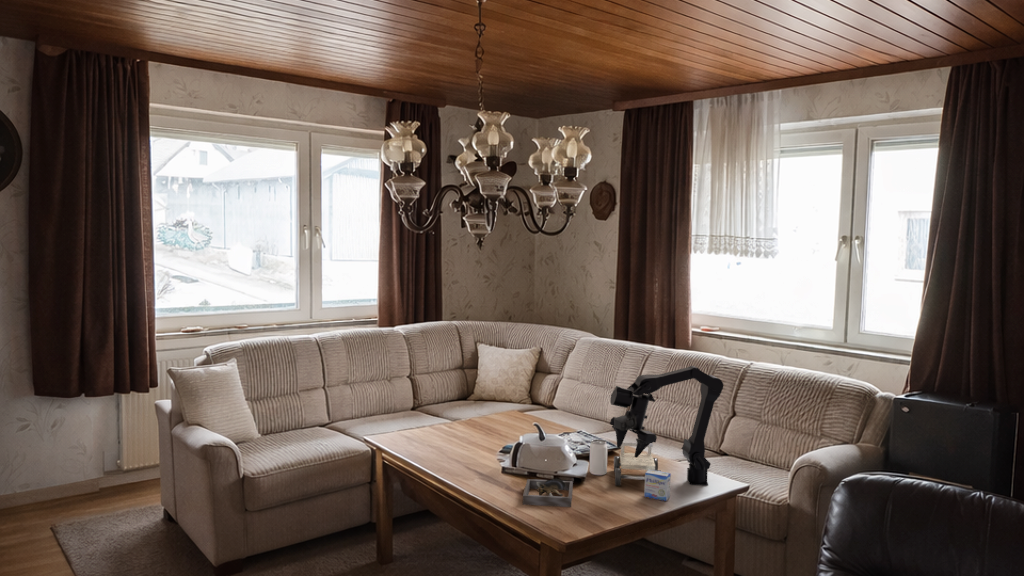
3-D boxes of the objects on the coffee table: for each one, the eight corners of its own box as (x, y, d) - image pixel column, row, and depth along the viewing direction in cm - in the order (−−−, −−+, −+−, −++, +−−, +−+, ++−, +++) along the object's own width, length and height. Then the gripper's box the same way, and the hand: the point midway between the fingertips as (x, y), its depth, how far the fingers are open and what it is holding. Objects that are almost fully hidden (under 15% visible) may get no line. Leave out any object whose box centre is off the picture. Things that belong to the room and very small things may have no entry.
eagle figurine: (545, 500, 238) (569, 491, 241) (537, 479, 240) (561, 471, 244) (539, 505, 244) (562, 496, 247) (531, 485, 247) (554, 477, 250)
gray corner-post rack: (656, 471, 271) (657, 440, 270) (661, 490, 251) (662, 457, 250) (613, 469, 273) (614, 439, 272) (615, 487, 253) (616, 455, 252)
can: (607, 471, 270) (608, 440, 270) (605, 476, 264) (606, 444, 263) (591, 469, 272) (591, 438, 271) (588, 474, 266) (588, 443, 265)
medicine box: (643, 497, 244) (644, 472, 243) (647, 493, 248) (648, 468, 247) (666, 501, 240) (667, 476, 240) (670, 497, 244) (670, 472, 244)
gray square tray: (572, 489, 250) (572, 481, 250) (571, 507, 235) (571, 498, 234) (527, 487, 252) (527, 479, 252) (522, 504, 236) (522, 495, 236)
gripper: (604, 400, 257) (593, 442, 258) (640, 417, 242) (628, 461, 242) (626, 403, 263) (615, 443, 264) (662, 419, 248) (651, 462, 249)
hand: (627, 452), depth 255 cm, fingers open, 9 cm apart
